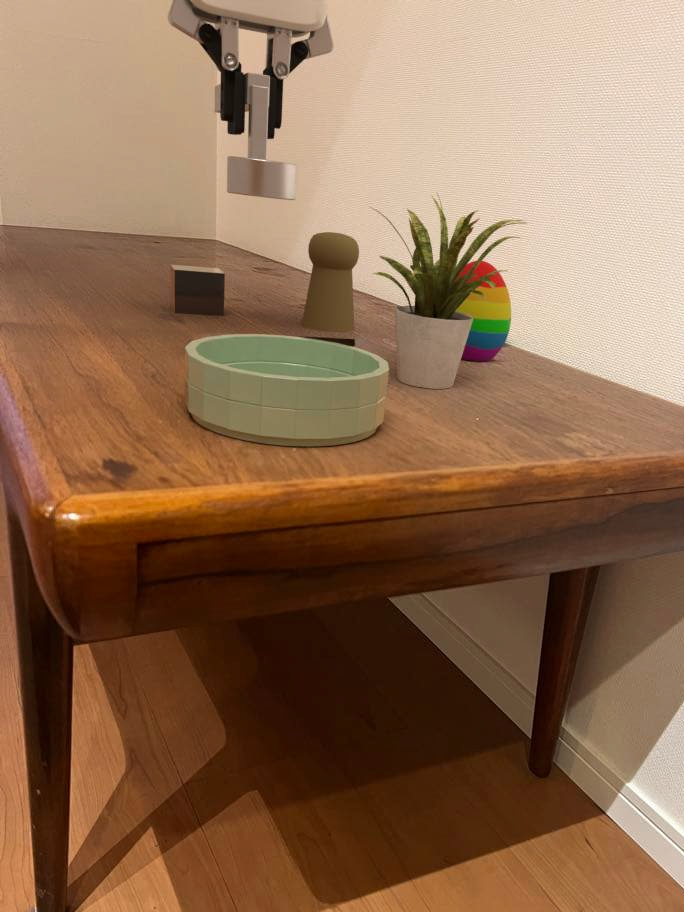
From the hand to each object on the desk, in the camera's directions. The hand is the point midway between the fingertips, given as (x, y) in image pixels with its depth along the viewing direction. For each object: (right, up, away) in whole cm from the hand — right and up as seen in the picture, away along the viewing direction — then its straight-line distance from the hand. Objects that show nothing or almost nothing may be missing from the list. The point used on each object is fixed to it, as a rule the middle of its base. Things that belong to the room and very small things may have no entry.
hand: (250, 134), depth 59 cm
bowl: (+3, -22, -3) cm, 22 cm away
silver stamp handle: (-1, -3, +4) cm, 5 cm away
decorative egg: (+19, -11, +27) cm, 34 cm away
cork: (+3, -10, +25) cm, 27 cm away
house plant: (+15, -17, +13) cm, 26 cm away
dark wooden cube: (-10, -8, +24) cm, 27 cm away
